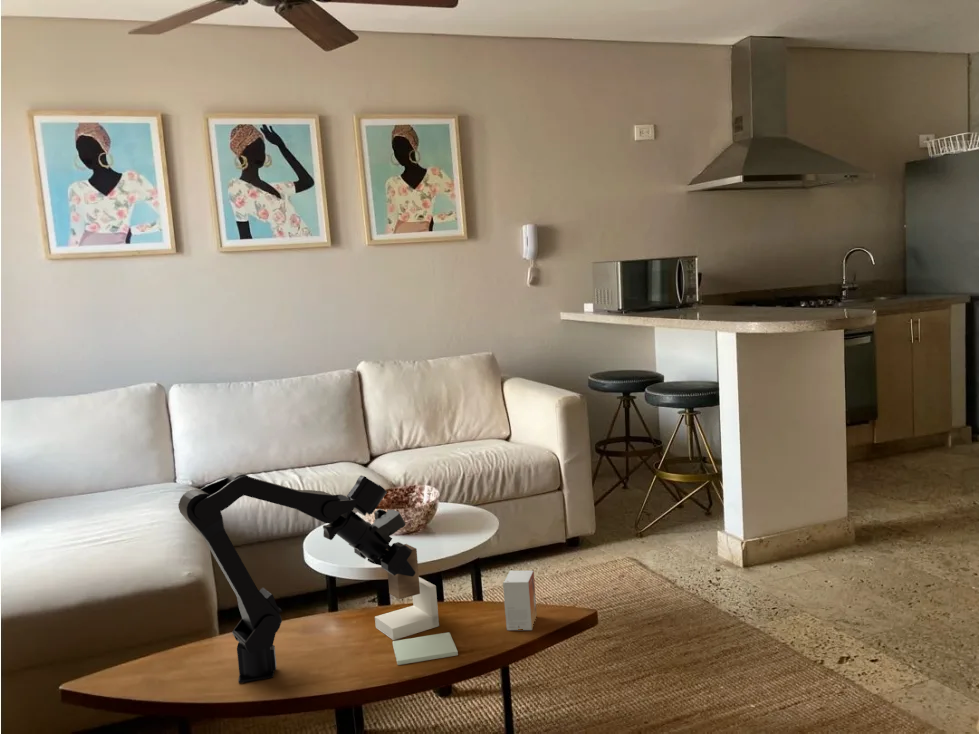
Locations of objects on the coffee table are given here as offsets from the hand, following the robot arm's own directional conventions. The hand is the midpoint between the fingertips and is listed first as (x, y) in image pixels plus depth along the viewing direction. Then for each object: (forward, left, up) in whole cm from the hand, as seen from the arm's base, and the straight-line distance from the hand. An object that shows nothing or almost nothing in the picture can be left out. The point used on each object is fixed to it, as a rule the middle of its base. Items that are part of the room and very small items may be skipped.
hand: (408, 571), depth 175 cm
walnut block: (-1, 0, -5) cm, 5 cm away
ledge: (-1, 0, -12) cm, 12 cm away
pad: (+1, -14, -12) cm, 19 cm away
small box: (+23, -8, -12) cm, 27 cm away
